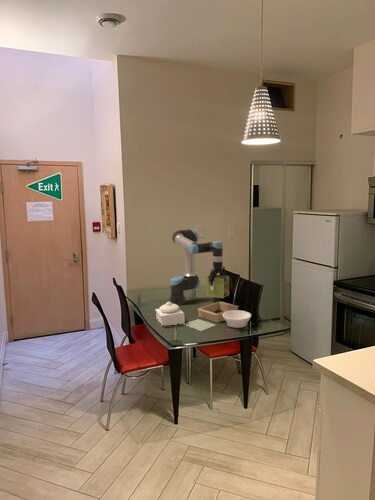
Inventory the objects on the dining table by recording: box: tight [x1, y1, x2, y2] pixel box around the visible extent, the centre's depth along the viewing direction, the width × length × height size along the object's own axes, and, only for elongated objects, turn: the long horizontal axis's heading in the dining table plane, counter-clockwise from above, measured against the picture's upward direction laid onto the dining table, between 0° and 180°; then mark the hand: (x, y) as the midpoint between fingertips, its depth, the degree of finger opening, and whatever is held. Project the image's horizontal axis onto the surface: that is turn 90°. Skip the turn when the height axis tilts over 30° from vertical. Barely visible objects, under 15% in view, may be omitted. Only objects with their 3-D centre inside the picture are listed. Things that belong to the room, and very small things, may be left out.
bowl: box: [223, 309, 252, 329], centre depth 277 cm, size 21×21×8 cm
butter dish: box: [154, 301, 186, 326], centre depth 286 cm, size 18×18×16 cm
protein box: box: [205, 274, 230, 299], centre depth 295 cm, size 10×15×16 cm
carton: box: [196, 301, 240, 323], centre depth 298 cm, size 21×28×6 cm
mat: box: [182, 318, 217, 332], centre depth 279 cm, size 19×16×1 cm
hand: (217, 288), depth 295 cm, fingers closed on protein box, 12 cm apart
